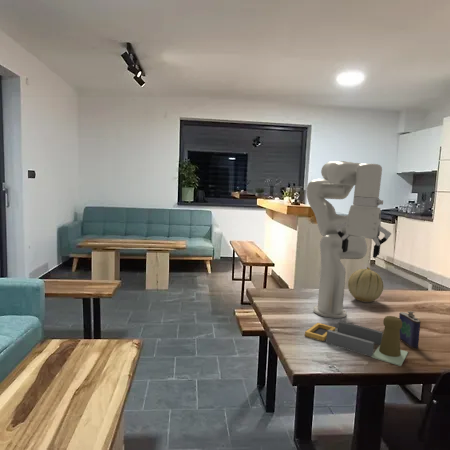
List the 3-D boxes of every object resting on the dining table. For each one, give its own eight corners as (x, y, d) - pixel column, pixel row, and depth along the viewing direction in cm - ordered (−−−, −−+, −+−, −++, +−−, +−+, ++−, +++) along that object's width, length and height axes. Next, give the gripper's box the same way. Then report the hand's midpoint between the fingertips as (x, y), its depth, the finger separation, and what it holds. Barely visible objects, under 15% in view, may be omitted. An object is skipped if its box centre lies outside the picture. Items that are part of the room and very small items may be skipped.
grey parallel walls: (338, 332, 126) (339, 320, 126) (381, 343, 118) (382, 331, 117) (326, 343, 116) (327, 331, 116) (371, 356, 108) (373, 343, 108)
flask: (395, 337, 124) (398, 306, 123) (403, 337, 124) (406, 306, 123) (412, 349, 115) (416, 316, 114) (421, 349, 115) (425, 316, 114)
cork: (398, 358, 107) (402, 322, 106) (376, 352, 110) (380, 317, 109) (402, 351, 112) (406, 317, 110) (381, 346, 115) (385, 312, 114)
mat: (380, 345, 117) (380, 344, 117) (407, 353, 112) (408, 351, 112) (371, 357, 108) (371, 356, 108) (400, 366, 103) (401, 364, 103)
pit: (317, 326, 130) (317, 322, 130) (335, 331, 126) (335, 327, 126) (304, 336, 121) (305, 331, 121) (323, 341, 117) (324, 337, 117)
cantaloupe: (348, 304, 158) (351, 270, 156) (345, 294, 172) (347, 263, 171) (385, 308, 155) (388, 273, 153) (378, 298, 169) (381, 266, 167)
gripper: (396, 204, 116) (390, 257, 118) (342, 199, 125) (337, 248, 128) (392, 205, 110) (385, 261, 112) (335, 200, 119) (330, 251, 122)
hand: (359, 254), depth 120 cm, fingers open, 9 cm apart
